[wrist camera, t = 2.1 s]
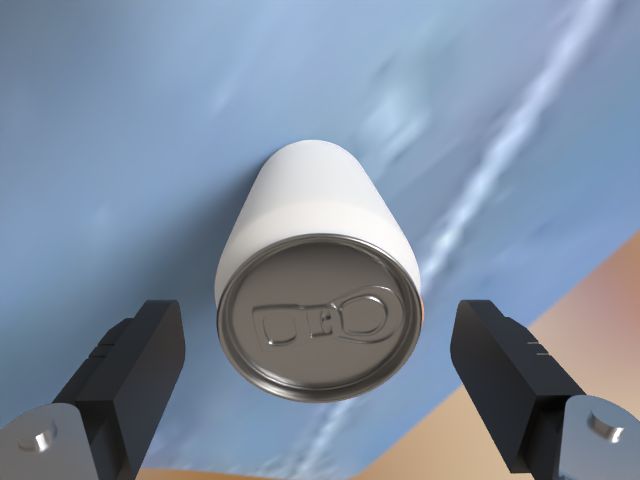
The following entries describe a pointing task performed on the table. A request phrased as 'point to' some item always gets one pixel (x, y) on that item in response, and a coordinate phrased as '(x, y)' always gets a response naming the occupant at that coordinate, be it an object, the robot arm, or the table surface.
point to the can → (317, 280)
